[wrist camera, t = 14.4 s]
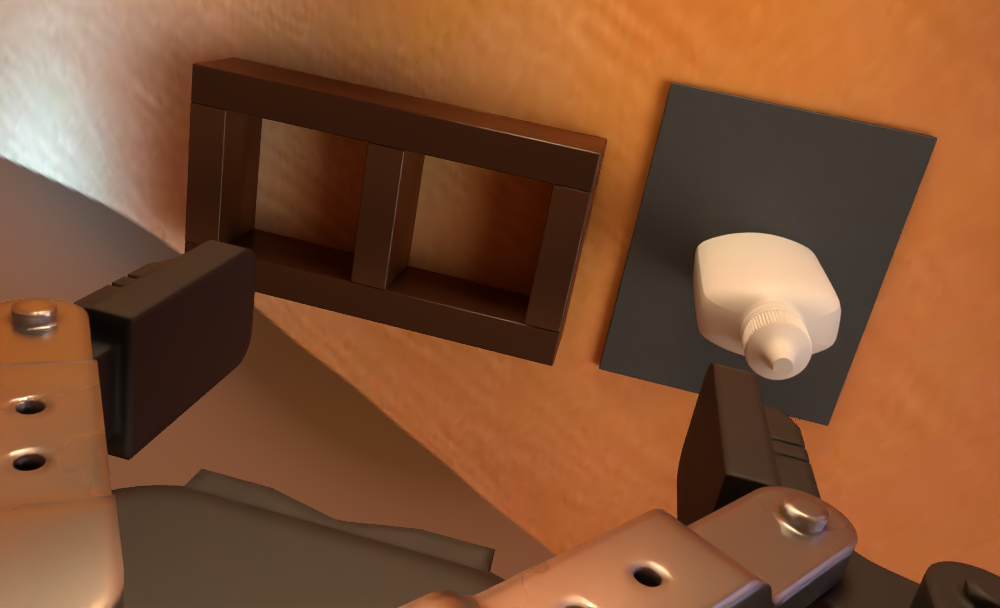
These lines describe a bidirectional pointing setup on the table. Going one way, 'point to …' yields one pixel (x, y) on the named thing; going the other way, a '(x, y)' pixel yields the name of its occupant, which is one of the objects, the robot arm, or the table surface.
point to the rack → (387, 203)
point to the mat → (760, 231)
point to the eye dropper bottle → (764, 301)
